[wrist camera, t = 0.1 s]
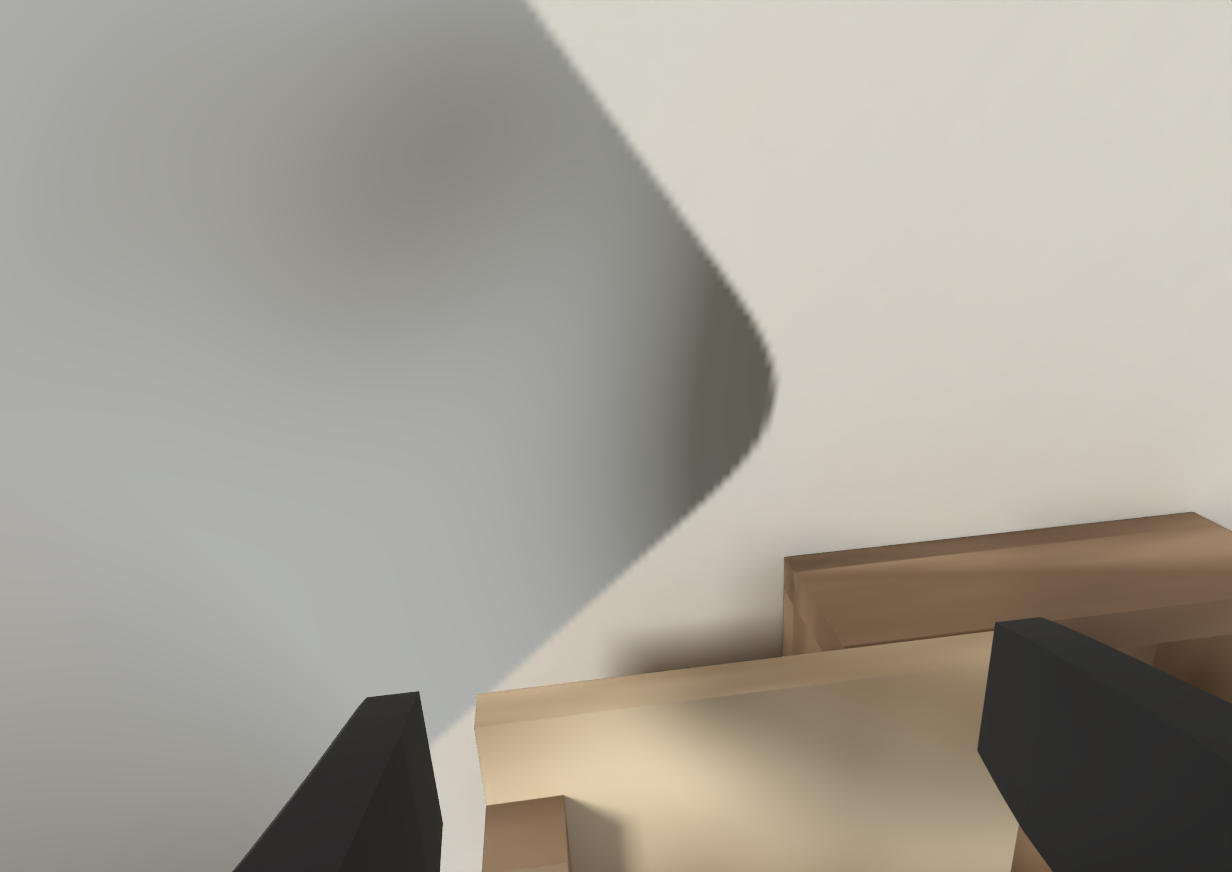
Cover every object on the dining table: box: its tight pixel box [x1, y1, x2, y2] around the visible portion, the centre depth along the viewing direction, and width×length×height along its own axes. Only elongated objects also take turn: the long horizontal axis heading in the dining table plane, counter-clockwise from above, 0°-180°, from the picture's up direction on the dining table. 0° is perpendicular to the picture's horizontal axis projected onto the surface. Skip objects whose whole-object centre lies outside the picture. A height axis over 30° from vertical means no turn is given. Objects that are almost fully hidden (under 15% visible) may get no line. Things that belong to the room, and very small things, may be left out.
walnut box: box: [782, 512, 1232, 872], centre depth 21 cm, size 14×12×4 cm
